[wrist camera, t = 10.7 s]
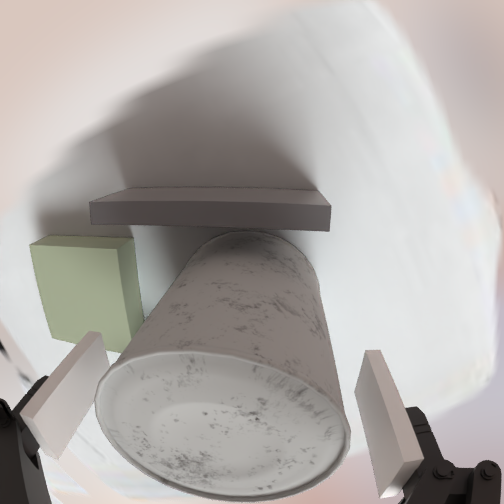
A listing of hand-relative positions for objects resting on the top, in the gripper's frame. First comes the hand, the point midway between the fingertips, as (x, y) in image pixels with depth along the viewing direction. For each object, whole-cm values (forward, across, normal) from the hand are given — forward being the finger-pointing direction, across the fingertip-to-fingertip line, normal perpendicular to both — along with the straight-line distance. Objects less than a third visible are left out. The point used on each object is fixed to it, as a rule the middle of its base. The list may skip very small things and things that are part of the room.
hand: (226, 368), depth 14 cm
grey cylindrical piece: (+7, 0, 0) cm, 8 cm away
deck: (+7, -11, 0) cm, 14 cm away
